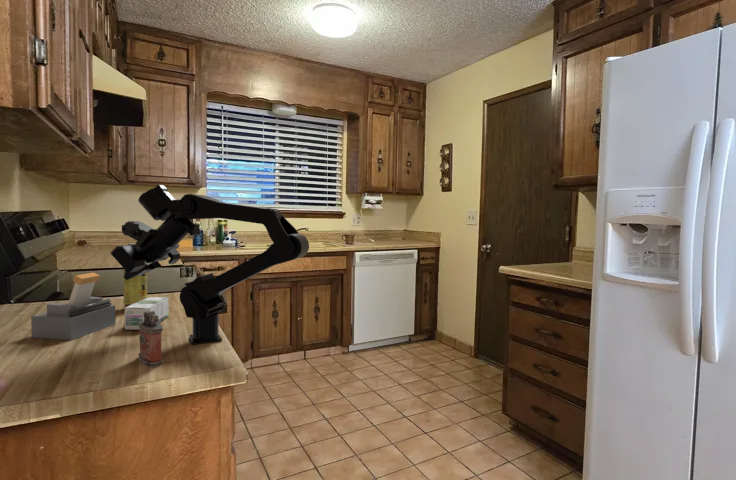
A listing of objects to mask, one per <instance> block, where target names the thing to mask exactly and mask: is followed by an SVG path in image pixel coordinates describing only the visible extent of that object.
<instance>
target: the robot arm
mask: <svg viewBox="0 0 736 480" xmlns="http://www.w3.org/2000/svg"><path fill="white" fill-rule="evenodd" d="M137 200H138V204H140V205H141V206H142V207H143V208H144V210H145V211H146V212H147V213H148V214H149V215H150V217H152V219H153V220H154V221H159V220H160V221H162V223H161V224H160V225H159V226H158V227H157V228H153V227H151V226H149V225H147V224H145V223H144V222H141V221H138V220H128V221H127V222H125V223H124V224H122V225H121V233H122V234H123V235H124V236H126V237H129V238H130V239H131V238H132V239H133V240H135V241H136V242H135V244H136V245H137V246H138V247H141V249H139V250H136V249H135V248H134V247H133V246H132V245H128V244H125V245H116V246H115V247H113V249H112V250H111V251H110V255H111V256H112V257H113V258H114V259H115V261H117V263H119V265H120V266H121V267H122V268H123V270H124V269H125V270H126V272H125V275H124V274H123V279H124V278H125V279H126V280H129V279H132V278H134V277H137V276H139V275H142V274H144V273H147V274H148V272H149V273H150V272H151V271H154V270H157V269H160V268H161V267H162V265H161V264H160V262H161V261H166V260H167V259H168V258H170V259H169V260H168V264H169V265H174V264H176V263H178V261H180V259H181V252H180V251H178V250H177V249H179V247H180V244H179V243H180V242H182V241H183V240H184V239H185V237H187V235H188V234H189V235H190V236H200V235H201V230H200V226H201V224H200V223H194V222H193V220H209V219H224V220H230V221H231V220H232V221H238V222H245V223H251V224H253V223H254V224H259V225H263V226H264V227H265V229H266V231H267V234H268V236H269V238H270V240H271V241H272V244H271V245H269V247H268V248H267V249H266V250H264V251H263V252H262V253H260V254H258V255H256V256H254V257H252V258H250V259H248V260H247V261H246V260H245V261H243V262H242V263H240V264H238V265H236V266H234V267H233V268H230V269H229V270H226V271H224V272H223V273H221V274H219V275H217V276H214V273H213V272H210V273H207V274H203V275H200V276H198V277H196V278H195V279H193V280H192V281H189V282H188V281H187V282H185V283H184V285H185V286H184V287H183V288H182V289H181V290H180V294H179V301H180V304H181V305H182V307H183V309H184V314H185V317H186V318H191V319H192V334H189V335H188V338H189V340H190V342H191V344H192V345H198V344H207V343H216V342H222V341H223V338H222V337H221V335H220V333H219V316H220V315H219V312H223V311H224V310H225V307H226V304H227V302H226V301H225V300H224V299H223V298H222V295H223V294H224V293H225V292H226V291H227V290H228V289H231V288H232V287H235V286H236V285H237V286H238V284H241V283H242V282H244V281H246V280H248V279H251V278H252V277H254V276H256V275H258V274H260V273H262V272H265V271H266V270H268V269H270V268H272V267H274V266H277V265H280V264H284V263H287V262H290V261H294V260H297V259H300V258H303V257H304V256H306V255H307V254H308V252H309V250H310V243H309V240H308V239H307V237H306V236H305V235H303V234H301V233H299V232H298V230H297V229H296V228H295V226H293V225H292V223H291V222H289V220H288V219H286V217H285V216H284V215H283V214H282V213H283V212H281V211H280V210H279V209H277V208H275V207H274V208H273V207H271V208H270V207H267V208H266V207H258V206H252V205H251V206H250V205H243V204H236V203H228V202H224V201H221V200H220V199H217V198H215V197H211V196H209V195H208V196H207V195H205V194H204V195H203V194H193V193H186V194H184V195H183V196H182V197H181V198H180V199H176V198H175V197H174V196H173V195H172V194H171V193H170V191H169V190H168V189H167V187H166V186H165V185H163V184H157V185H156V186H155V187H153V188H150V189H149V190H146V191H145V192H142V194H141V195H140V196H139V197H138V199H137Z"/></svg>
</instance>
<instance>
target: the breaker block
mask: <svg viewBox="0 0 736 480" xmlns="http://www.w3.org/2000/svg"><path fill="white" fill-rule="evenodd" d="M30 317H31V318H30V319H31V326H30V327H31V338H33V339H34V338H35V339H49V340H64V341H73V340H76V339H78V338H81V337H84V336H87V335H89V334H92V333H95V332H99V331H100V330H103V329H106V328H108V327H112V326H114V325H116V305H113V304H112V302H111V299H109V298H105V299H103V297H101V296H100V297H99V296H90V299H89V302H88V305H84V306H80V307H77V308H76V304H68V303H60V302H59V303H58V302H50V303H47V304H46V311H45V312H42V313H38V314H34V315H31V316H30Z"/></svg>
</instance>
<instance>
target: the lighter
mask: <svg viewBox="0 0 736 480" xmlns="http://www.w3.org/2000/svg"><path fill="white" fill-rule="evenodd" d="M158 322H159V317H158V316H157V315H156V314H155V311H146V312H144V321H140V322H139V328H140V329H139V338H138V339H139V353H138V360H139V362H140V363H141V364H142V365H143V366H145V367H148V368H157V367H161V366H162V365H163V358H162V332H163V325H162V323H161V322H159V323H158Z"/></svg>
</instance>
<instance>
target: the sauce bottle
mask: <svg viewBox="0 0 736 480" xmlns="http://www.w3.org/2000/svg"><path fill="white" fill-rule="evenodd" d="M127 245H132V246H133V247H134V248H135V249H136V250H139V249H141V247H138V246H137V245H136V243H128V244H127ZM125 272H126V270H125V269H124V268H123V276H124V275H125ZM147 297H148V272H147V273H144V274H142V275H139V276H137V277H134V278H132V279H129V280H126V279H125V278H124V277H123V304H124V306H123V308H124V309H125V308H126V307H128V306H130V305H132V304H134V303H136V302H138V301H141V300H143V299H145V298H147Z"/></svg>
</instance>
